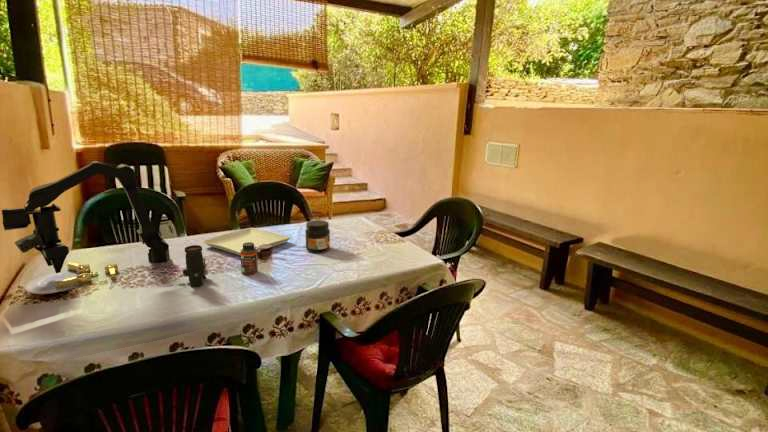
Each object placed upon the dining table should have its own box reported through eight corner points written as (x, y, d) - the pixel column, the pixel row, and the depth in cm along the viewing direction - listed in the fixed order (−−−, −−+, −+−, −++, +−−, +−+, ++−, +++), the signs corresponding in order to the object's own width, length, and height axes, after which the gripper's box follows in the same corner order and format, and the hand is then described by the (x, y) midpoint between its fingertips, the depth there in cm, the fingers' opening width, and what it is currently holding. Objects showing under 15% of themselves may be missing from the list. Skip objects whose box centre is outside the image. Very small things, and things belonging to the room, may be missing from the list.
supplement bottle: (243, 276, 157) (241, 247, 154) (240, 270, 162) (238, 242, 159) (259, 273, 160) (258, 245, 157) (256, 268, 165) (254, 240, 162)
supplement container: (323, 254, 181) (323, 227, 177) (301, 251, 184) (300, 224, 181) (334, 247, 190) (333, 221, 187) (312, 244, 193) (312, 218, 190)
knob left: (89, 278, 149) (88, 271, 148) (93, 281, 146) (92, 274, 146) (54, 287, 141) (53, 280, 141) (58, 290, 139) (56, 283, 138)
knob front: (93, 271, 154) (92, 264, 154) (81, 275, 151) (80, 268, 150) (75, 266, 158) (74, 260, 158) (64, 270, 155) (63, 263, 154)
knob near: (105, 271, 155) (103, 264, 154) (117, 269, 157) (116, 262, 156) (107, 281, 147) (105, 274, 146) (120, 278, 149) (119, 271, 149)
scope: (204, 240, 152) (207, 249, 143) (208, 277, 156) (211, 287, 147) (179, 243, 148) (180, 252, 140) (183, 280, 152) (184, 291, 143)
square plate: (292, 244, 194) (292, 236, 193) (244, 262, 172) (243, 252, 171) (251, 233, 208) (251, 225, 207) (201, 248, 186) (201, 240, 185)
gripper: (7, 224, 142) (17, 268, 146) (21, 236, 130) (31, 284, 134) (48, 218, 150) (56, 260, 154) (65, 229, 138) (73, 273, 143)
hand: (54, 269), depth 146 cm, fingers open, 9 cm apart
